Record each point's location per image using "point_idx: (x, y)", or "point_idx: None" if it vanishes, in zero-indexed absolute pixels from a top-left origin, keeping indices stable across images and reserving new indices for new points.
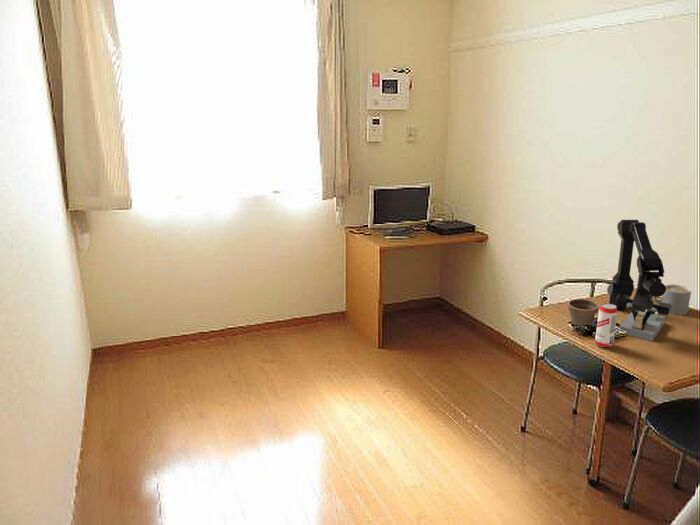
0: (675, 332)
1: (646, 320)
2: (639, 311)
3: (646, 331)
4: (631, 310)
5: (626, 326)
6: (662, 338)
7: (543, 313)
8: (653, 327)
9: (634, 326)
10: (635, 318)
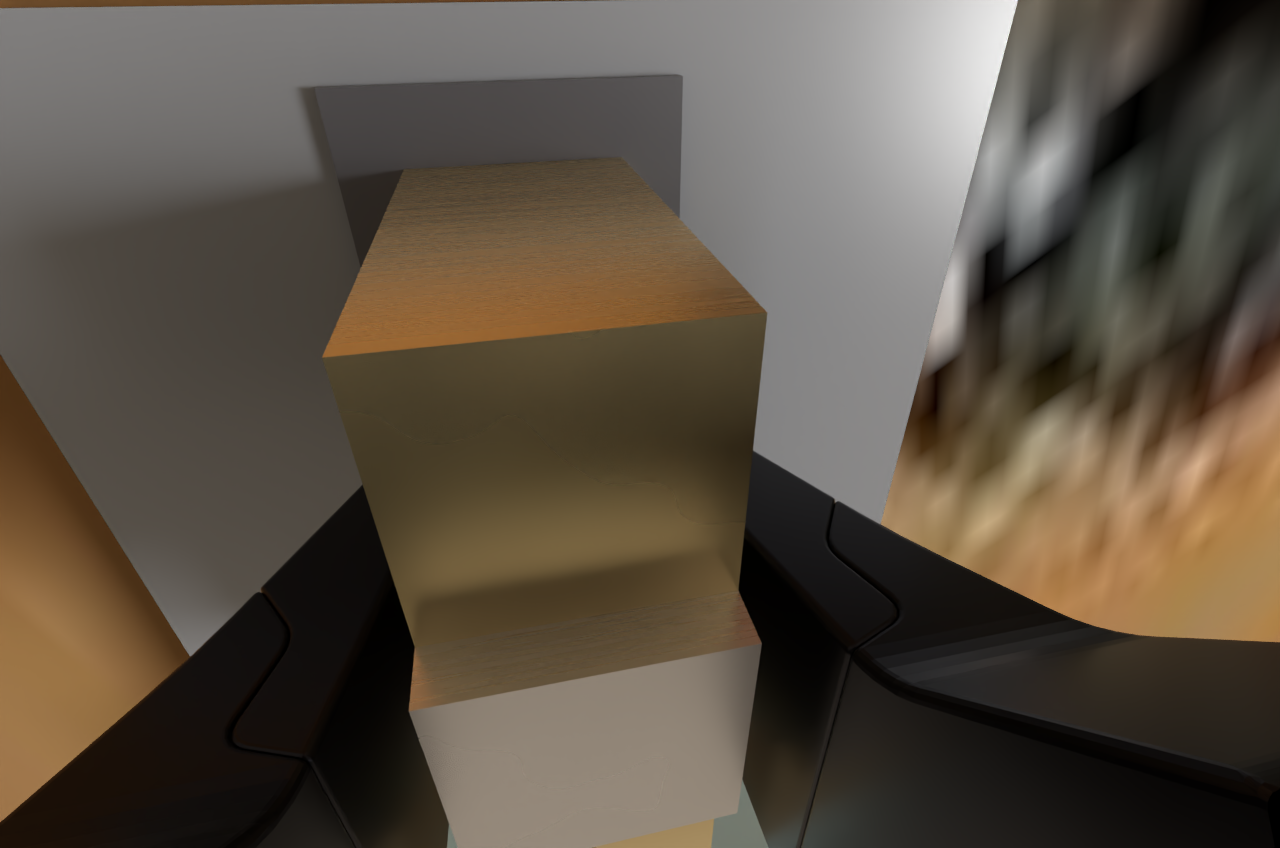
0: (78, 725)
1: (310, 543)
2: (720, 842)
3: (177, 125)
4: (1208, 652)
5: (829, 120)
6: (7, 381)
7: None
8: (235, 537)
9: (620, 168)
10: (725, 277)
